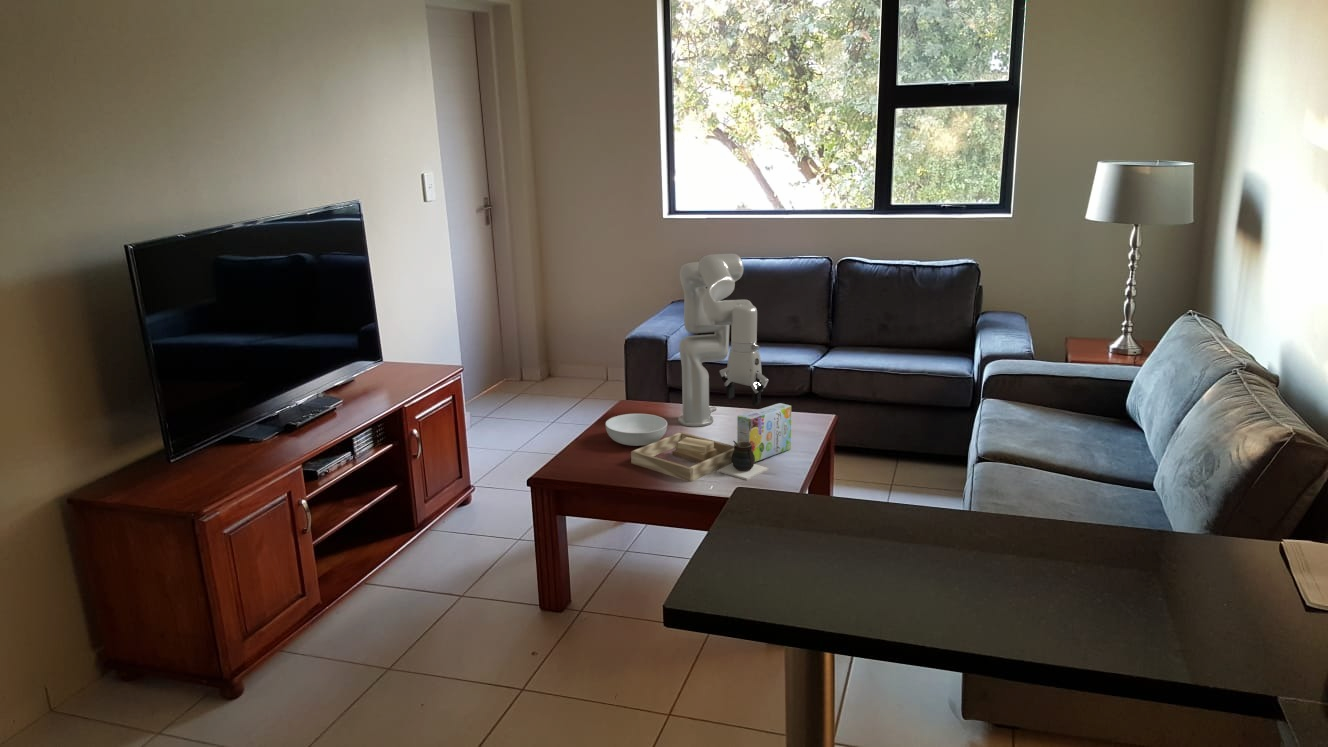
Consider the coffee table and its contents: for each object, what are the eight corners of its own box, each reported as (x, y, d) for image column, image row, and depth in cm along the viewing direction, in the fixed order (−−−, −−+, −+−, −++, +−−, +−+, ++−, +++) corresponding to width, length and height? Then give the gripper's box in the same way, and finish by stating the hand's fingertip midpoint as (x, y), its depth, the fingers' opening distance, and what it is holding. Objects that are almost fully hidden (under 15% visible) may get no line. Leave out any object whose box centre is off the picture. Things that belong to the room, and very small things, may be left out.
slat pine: (686, 442, 295) (686, 437, 294) (714, 447, 290) (713, 441, 289) (677, 447, 290) (677, 442, 289) (705, 452, 285) (705, 447, 284)
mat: (739, 461, 286) (739, 459, 286) (768, 469, 279) (768, 467, 279) (718, 471, 278) (718, 469, 278) (746, 480, 271) (746, 478, 271)
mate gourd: (759, 468, 279) (760, 437, 276) (744, 475, 273) (745, 443, 271) (741, 462, 283) (741, 432, 281) (726, 469, 278) (726, 438, 275)
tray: (681, 443, 304) (681, 431, 303) (739, 459, 288) (739, 447, 287) (631, 463, 286) (631, 451, 285) (690, 481, 270) (690, 469, 269)
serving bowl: (641, 456, 292) (641, 436, 290) (593, 444, 304) (592, 425, 302) (679, 439, 308) (679, 420, 306) (632, 428, 320) (631, 409, 318)
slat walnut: (686, 451, 298) (686, 445, 297) (719, 461, 289) (719, 455, 288) (672, 457, 293) (672, 451, 293) (705, 467, 284) (705, 461, 283)
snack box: (777, 445, 299) (779, 402, 296) (791, 449, 296) (793, 405, 292) (735, 460, 285) (736, 414, 281) (749, 465, 281) (750, 418, 278)
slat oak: (689, 446, 297) (689, 440, 296) (717, 455, 288) (717, 449, 288) (675, 451, 292) (675, 445, 292) (703, 460, 284) (703, 454, 283)
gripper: (775, 348, 265) (774, 404, 270) (728, 339, 276) (728, 393, 281) (760, 353, 260) (759, 410, 265) (713, 344, 271) (713, 398, 276)
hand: (743, 401), depth 273 cm, fingers open, 9 cm apart
